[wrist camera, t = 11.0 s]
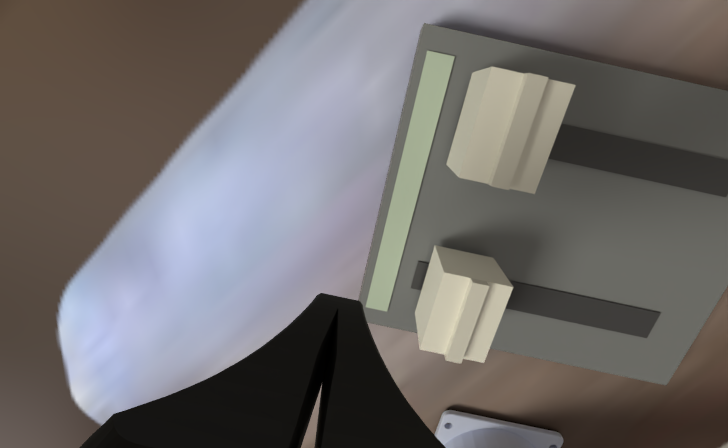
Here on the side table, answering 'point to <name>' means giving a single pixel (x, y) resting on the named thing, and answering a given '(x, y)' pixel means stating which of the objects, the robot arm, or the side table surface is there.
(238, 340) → the side table surface
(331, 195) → the side table surface
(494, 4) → the side table surface
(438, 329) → the cream slider knob
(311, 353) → the robot arm
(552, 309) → the panel
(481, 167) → the block
